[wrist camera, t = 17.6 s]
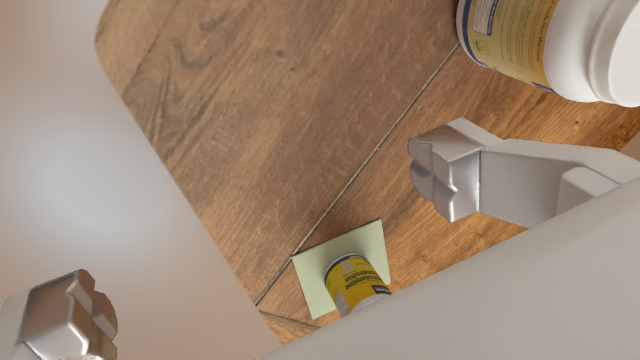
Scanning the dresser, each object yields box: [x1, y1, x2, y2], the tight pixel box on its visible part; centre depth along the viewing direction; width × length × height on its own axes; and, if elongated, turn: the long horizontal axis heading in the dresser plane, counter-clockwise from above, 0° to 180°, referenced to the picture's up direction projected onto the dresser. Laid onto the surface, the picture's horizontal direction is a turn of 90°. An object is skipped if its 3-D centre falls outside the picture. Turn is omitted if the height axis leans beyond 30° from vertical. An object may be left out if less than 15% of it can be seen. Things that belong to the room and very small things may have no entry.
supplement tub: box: [456, 0, 640, 107], centre depth 38 cm, size 12×12×17 cm
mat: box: [291, 219, 391, 320], centre depth 55 cm, size 12×12×1 cm
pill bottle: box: [324, 253, 392, 318], centre depth 50 cm, size 6×6×12 cm
